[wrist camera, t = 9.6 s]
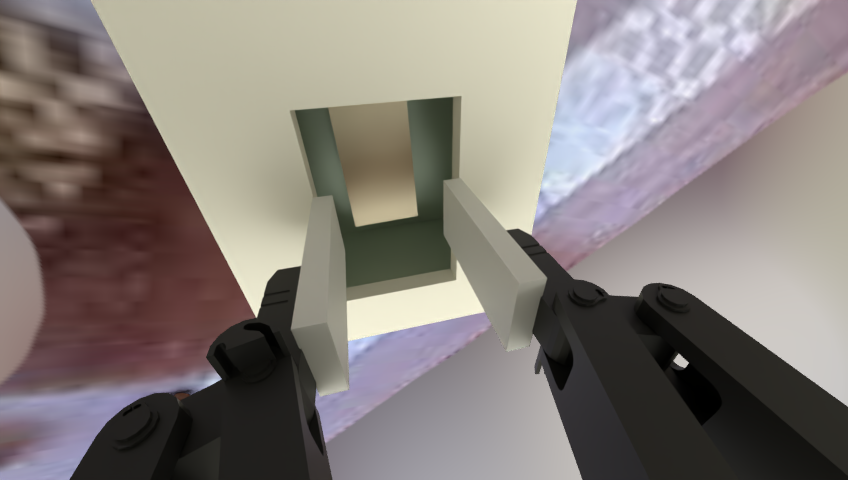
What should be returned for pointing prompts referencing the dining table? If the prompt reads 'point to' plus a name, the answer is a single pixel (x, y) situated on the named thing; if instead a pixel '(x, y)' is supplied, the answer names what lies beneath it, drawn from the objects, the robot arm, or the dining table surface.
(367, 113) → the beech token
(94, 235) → the dining table surface
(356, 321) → the slot box
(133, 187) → the dining table surface
